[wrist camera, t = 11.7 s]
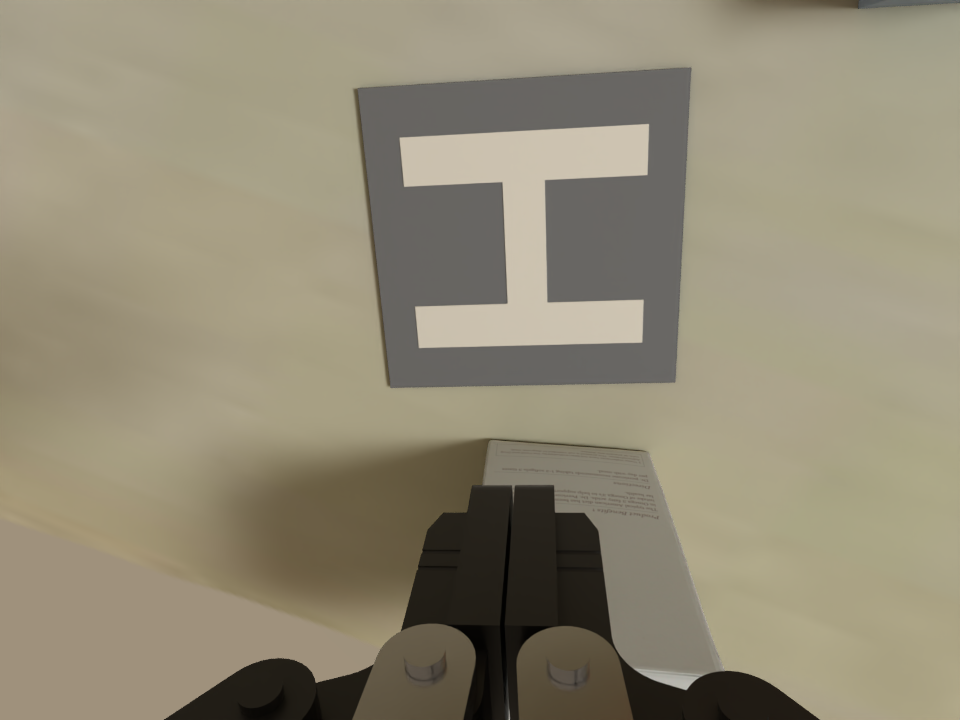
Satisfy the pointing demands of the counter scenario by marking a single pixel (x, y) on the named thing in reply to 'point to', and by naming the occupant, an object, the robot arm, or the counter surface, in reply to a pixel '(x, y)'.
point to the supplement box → (624, 550)
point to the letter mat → (529, 227)
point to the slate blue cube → (900, 3)
